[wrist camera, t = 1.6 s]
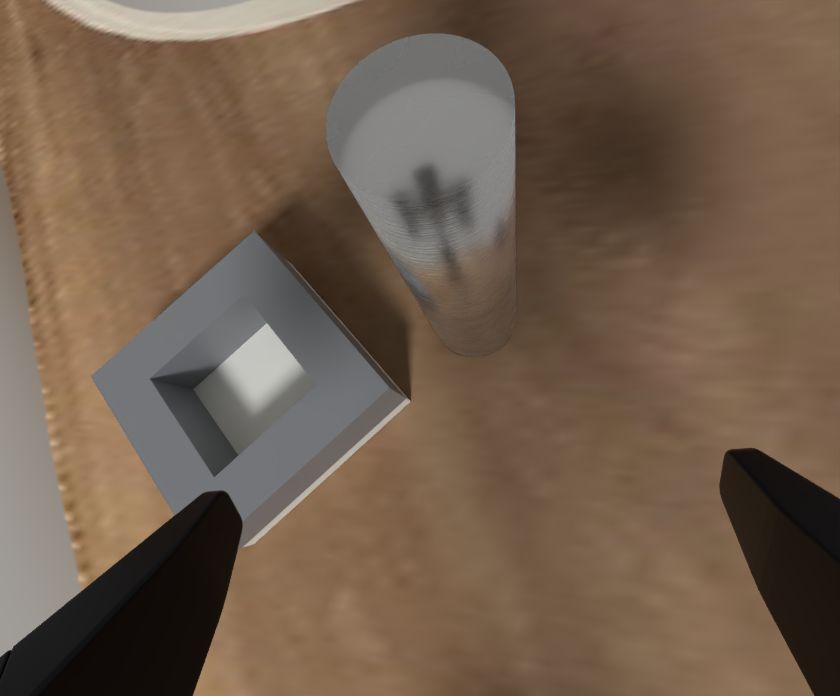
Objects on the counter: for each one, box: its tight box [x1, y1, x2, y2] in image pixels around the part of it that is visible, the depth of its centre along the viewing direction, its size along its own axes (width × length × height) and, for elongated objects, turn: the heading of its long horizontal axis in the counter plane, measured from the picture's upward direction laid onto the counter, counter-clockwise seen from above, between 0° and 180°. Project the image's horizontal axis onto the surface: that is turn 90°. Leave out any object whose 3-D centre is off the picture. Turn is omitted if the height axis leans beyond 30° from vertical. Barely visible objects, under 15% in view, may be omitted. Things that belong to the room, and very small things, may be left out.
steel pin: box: [325, 33, 516, 357], centre depth 17 cm, size 4×4×14 cm
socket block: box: [91, 231, 411, 549], centre depth 22 cm, size 10×10×4 cm
